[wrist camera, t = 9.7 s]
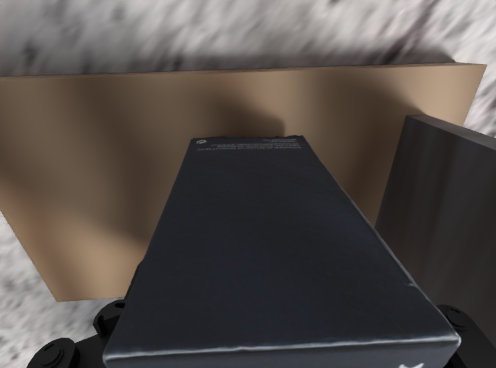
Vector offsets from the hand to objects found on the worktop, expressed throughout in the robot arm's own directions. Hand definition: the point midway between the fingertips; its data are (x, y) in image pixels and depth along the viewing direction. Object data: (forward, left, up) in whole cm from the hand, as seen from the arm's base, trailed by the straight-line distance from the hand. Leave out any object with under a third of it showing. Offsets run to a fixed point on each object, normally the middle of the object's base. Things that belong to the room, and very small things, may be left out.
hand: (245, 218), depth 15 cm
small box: (0, 0, 0) cm, 0 cm away
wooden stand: (-1, 0, -3) cm, 3 cm away
